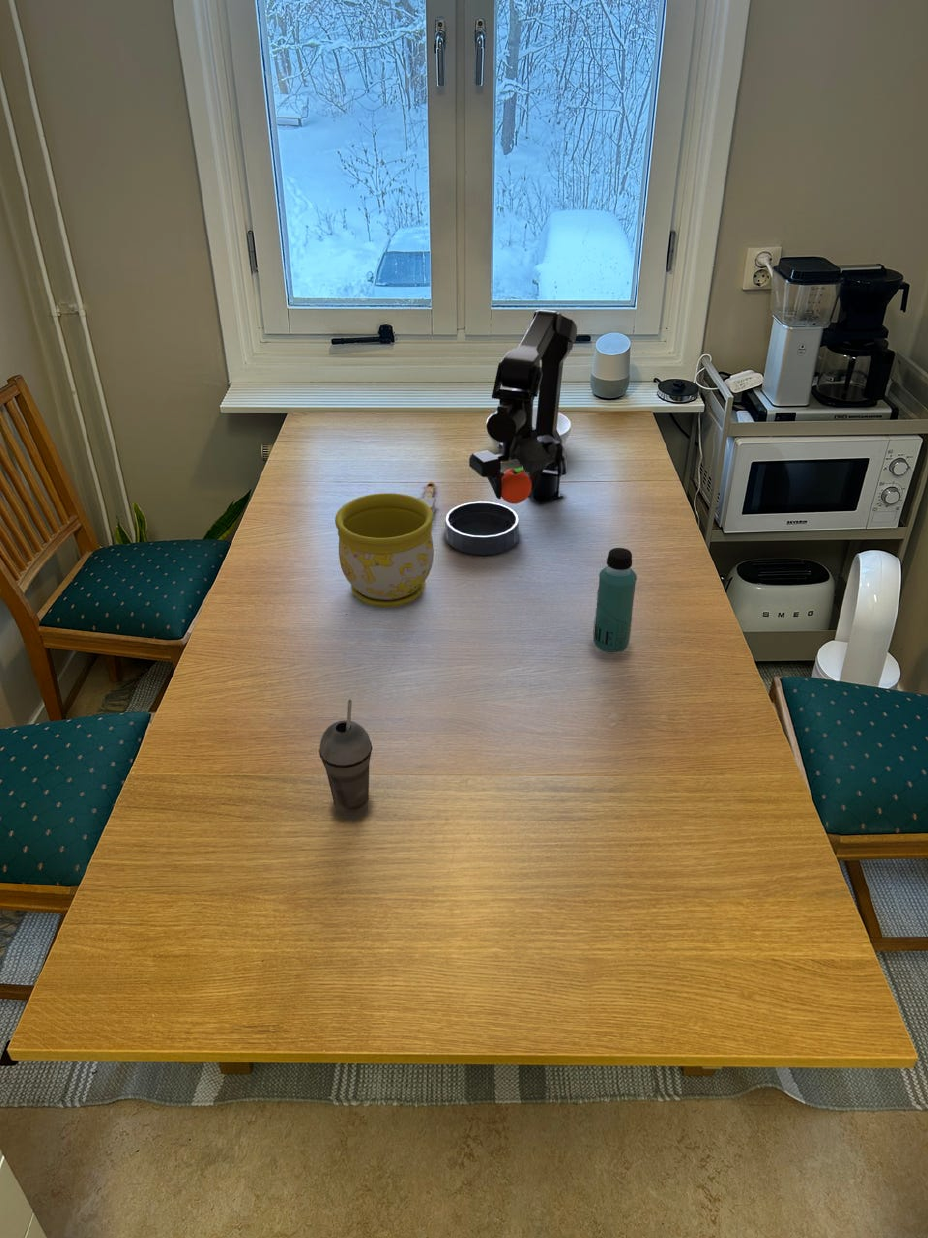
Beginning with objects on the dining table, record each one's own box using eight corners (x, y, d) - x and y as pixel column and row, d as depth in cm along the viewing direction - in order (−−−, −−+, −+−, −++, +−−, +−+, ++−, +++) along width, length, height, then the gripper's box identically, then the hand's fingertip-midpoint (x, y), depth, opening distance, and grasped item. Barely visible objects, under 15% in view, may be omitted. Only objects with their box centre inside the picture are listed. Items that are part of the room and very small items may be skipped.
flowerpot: (322, 591, 178) (314, 516, 168) (390, 555, 188) (386, 483, 179) (386, 628, 168) (381, 551, 158) (454, 588, 178) (453, 513, 169)
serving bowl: (573, 466, 222) (574, 439, 218) (486, 466, 222) (486, 439, 218) (566, 430, 239) (567, 405, 235) (485, 430, 239) (485, 405, 235)
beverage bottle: (632, 642, 164) (644, 545, 152) (624, 664, 159) (636, 565, 147) (596, 635, 166) (605, 539, 154) (587, 656, 161) (596, 558, 149)
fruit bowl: (493, 513, 203) (493, 495, 200) (531, 543, 192) (532, 524, 190) (433, 531, 197) (432, 512, 194) (469, 563, 186) (469, 544, 183)
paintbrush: (411, 517, 195) (423, 479, 212) (412, 529, 196) (423, 489, 213) (429, 518, 195) (440, 479, 211) (430, 530, 196) (440, 490, 213)
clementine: (517, 488, 191) (518, 457, 187) (541, 499, 187) (543, 468, 183) (489, 501, 187) (490, 469, 183) (514, 513, 183) (515, 481, 179)
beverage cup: (327, 791, 135) (313, 685, 123) (377, 788, 135) (368, 682, 123) (325, 829, 129) (311, 721, 117) (377, 825, 129) (368, 718, 118)
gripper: (497, 447, 168) (496, 522, 177) (581, 426, 175) (576, 499, 184) (467, 425, 176) (467, 498, 185) (549, 406, 183) (545, 477, 192)
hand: (515, 493), depth 186 cm, fingers closed on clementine, 8 cm apart
